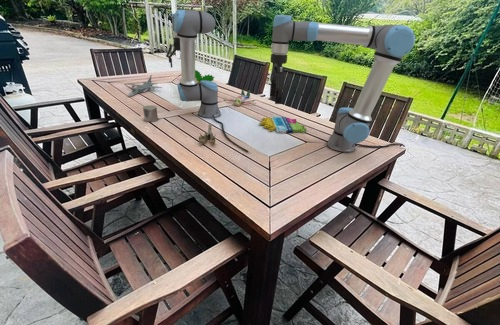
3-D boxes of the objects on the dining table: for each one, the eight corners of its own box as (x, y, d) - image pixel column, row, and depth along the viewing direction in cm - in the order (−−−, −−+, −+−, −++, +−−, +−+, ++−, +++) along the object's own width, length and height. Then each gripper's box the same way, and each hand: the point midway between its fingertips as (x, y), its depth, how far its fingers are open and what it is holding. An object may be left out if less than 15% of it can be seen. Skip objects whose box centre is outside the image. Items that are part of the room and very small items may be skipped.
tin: (160, 120, 172) (158, 107, 167) (148, 122, 166) (146, 110, 162) (154, 116, 177) (153, 104, 172) (142, 119, 172) (140, 106, 167)
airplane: (122, 86, 237) (119, 75, 232) (157, 84, 250) (156, 74, 245) (126, 99, 209) (123, 86, 204) (166, 96, 222) (165, 84, 217)
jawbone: (218, 127, 153) (216, 117, 144) (216, 150, 146) (215, 141, 137) (202, 127, 153) (199, 117, 144) (200, 150, 146) (197, 140, 137)
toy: (261, 91, 228) (254, 99, 202) (261, 99, 231) (253, 108, 205) (231, 87, 233) (220, 95, 207) (230, 95, 236) (219, 104, 210)
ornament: (209, 91, 261) (213, 76, 259) (211, 91, 253) (215, 75, 251) (188, 84, 252) (192, 69, 250) (190, 84, 245) (194, 68, 243)
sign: (308, 131, 166) (261, 129, 163) (307, 133, 167) (261, 132, 164) (299, 117, 188) (257, 116, 186) (298, 119, 189) (257, 118, 186)
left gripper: (193, 37, 203) (194, 66, 213) (160, 36, 193) (163, 66, 203) (196, 38, 197) (197, 67, 207) (162, 37, 187) (164, 68, 197)
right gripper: (266, 50, 129) (263, 93, 140) (276, 57, 108) (272, 107, 118) (281, 50, 130) (277, 93, 140) (294, 57, 109) (288, 107, 119)
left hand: (180, 67), depth 205 cm, fingers open, 13 cm apart
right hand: (275, 99), depth 129 cm, fingers open, 13 cm apart
